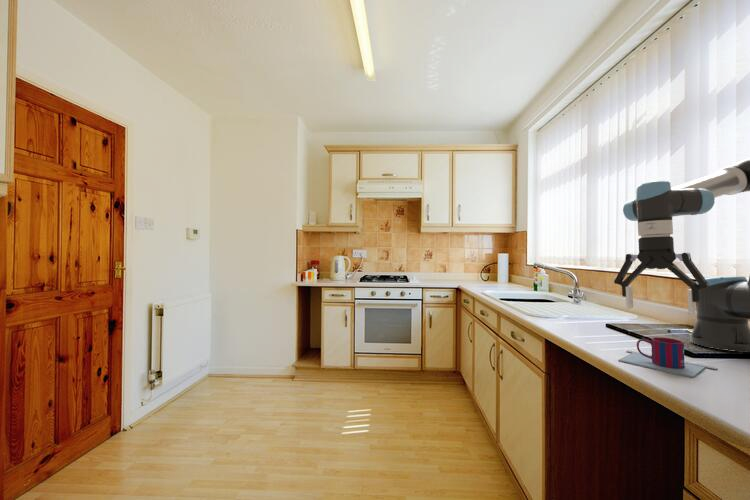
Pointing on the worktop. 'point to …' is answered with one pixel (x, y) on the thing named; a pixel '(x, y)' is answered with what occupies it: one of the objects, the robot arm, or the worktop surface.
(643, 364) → the mat
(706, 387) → the worktop surface
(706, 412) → the worktop surface
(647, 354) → the line strip
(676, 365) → the mug
